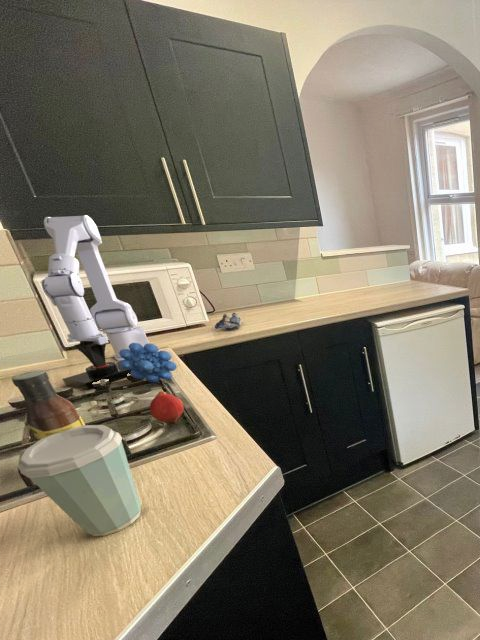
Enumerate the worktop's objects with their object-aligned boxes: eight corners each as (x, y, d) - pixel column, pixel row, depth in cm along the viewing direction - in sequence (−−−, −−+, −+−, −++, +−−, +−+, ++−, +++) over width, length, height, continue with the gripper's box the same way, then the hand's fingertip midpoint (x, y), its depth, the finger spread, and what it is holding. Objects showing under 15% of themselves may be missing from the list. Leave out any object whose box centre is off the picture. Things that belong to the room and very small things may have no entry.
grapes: (125, 392, 112) (106, 350, 107) (132, 384, 118) (114, 343, 113) (178, 383, 117) (161, 342, 112) (182, 375, 123) (167, 335, 118)
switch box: (122, 368, 130) (117, 356, 129) (144, 371, 127) (139, 359, 125) (66, 386, 119) (59, 373, 117) (89, 390, 115) (82, 377, 113)
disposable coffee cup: (163, 519, 65) (122, 436, 59) (68, 562, 58) (10, 472, 52) (149, 492, 72) (111, 414, 66) (62, 527, 64) (10, 444, 58)
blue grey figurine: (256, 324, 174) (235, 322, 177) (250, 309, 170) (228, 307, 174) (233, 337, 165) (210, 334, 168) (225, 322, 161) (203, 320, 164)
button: (106, 368, 124) (104, 362, 123) (114, 369, 123) (111, 364, 122) (92, 372, 121) (89, 367, 120) (99, 374, 120) (96, 368, 119)
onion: (152, 430, 92) (137, 398, 89) (164, 419, 97) (150, 387, 94) (182, 426, 93) (168, 394, 90) (192, 414, 98) (180, 383, 95)
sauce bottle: (72, 465, 80) (18, 369, 72) (112, 457, 82) (63, 363, 74) (52, 484, 75) (-9, 383, 67) (95, 476, 77) (41, 376, 69)
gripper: (45, 322, 114) (68, 368, 120) (76, 325, 110) (99, 373, 115) (77, 315, 120) (98, 359, 126) (107, 318, 116) (128, 364, 121)
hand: (100, 365), depth 121 cm, fingers closed, pressing on button
